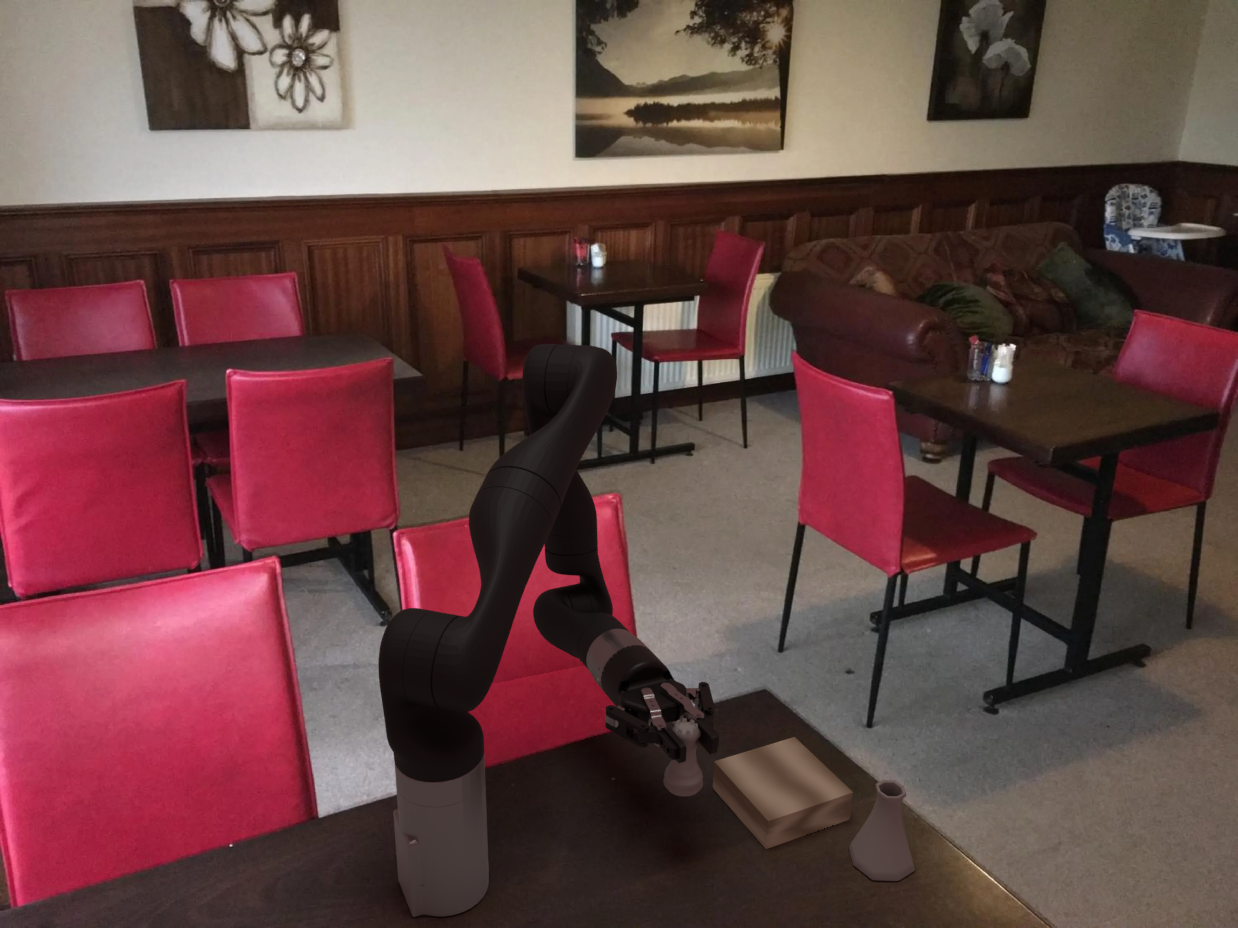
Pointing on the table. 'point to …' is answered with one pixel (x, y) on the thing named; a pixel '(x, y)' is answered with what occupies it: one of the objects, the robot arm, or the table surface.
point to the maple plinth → (781, 792)
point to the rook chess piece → (686, 774)
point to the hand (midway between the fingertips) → (699, 750)
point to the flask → (883, 837)
